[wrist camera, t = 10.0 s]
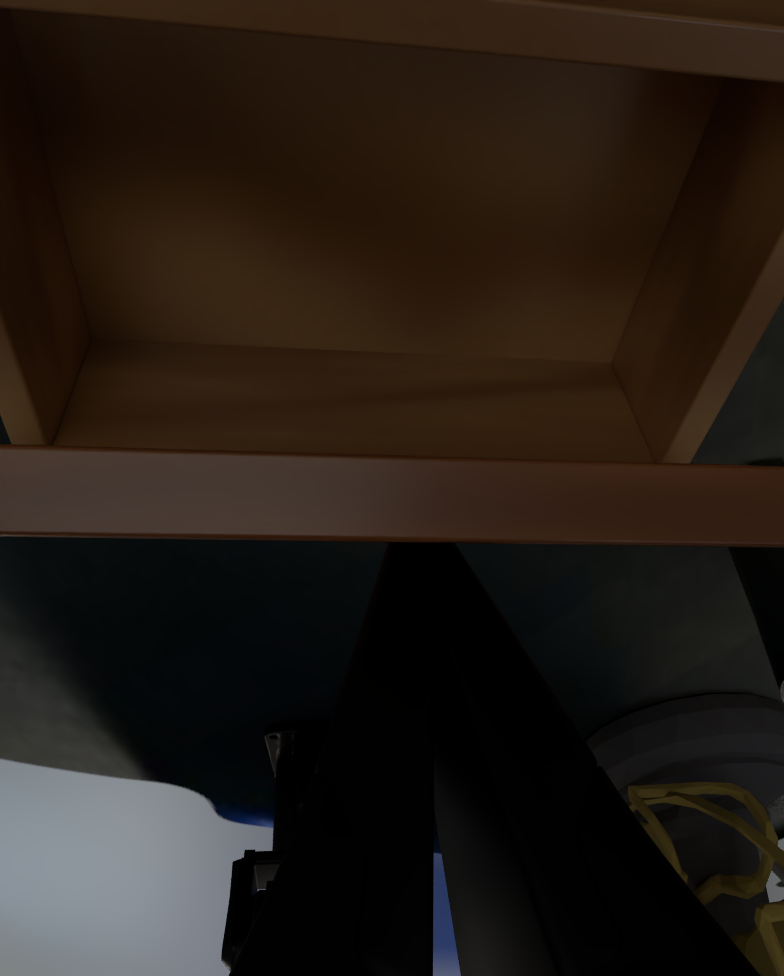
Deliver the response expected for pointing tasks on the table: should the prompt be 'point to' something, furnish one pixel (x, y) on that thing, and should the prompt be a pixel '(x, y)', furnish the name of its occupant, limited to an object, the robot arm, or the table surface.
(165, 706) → the table surface
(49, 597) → the table surface
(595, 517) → the lid
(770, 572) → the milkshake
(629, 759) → the electric fan
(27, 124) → the brown open rectangular box
